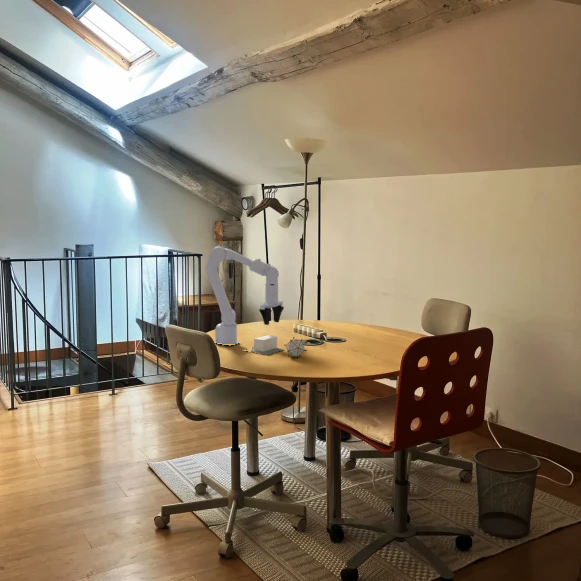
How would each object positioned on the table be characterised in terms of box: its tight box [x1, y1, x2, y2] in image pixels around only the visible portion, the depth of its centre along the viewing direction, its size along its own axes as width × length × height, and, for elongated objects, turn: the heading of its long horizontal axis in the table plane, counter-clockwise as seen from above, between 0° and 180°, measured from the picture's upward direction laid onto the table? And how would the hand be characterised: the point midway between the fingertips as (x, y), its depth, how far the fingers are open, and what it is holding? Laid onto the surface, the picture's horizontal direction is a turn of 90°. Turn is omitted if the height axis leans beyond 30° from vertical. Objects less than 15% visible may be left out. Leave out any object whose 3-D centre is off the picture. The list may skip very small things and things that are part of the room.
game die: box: [284, 336, 308, 360], centre depth 252 cm, size 9×8×10 cm
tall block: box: [253, 334, 278, 352], centre depth 265 cm, size 5×5×10 cm
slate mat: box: [250, 346, 285, 356], centre depth 264 cm, size 14×12×1 cm
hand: (271, 323), depth 276 cm, fingers open, 7 cm apart
